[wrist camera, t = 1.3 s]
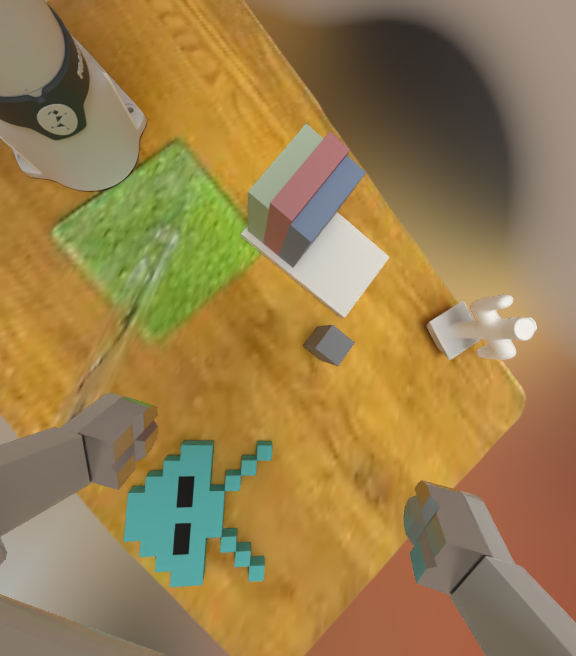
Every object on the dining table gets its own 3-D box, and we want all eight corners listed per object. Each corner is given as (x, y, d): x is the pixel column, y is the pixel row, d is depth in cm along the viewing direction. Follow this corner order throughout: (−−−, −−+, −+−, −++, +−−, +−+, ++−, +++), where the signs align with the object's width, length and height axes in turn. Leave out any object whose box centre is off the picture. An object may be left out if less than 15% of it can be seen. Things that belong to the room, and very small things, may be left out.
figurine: (437, 363, 48) (523, 376, 33) (412, 317, 47) (488, 308, 32) (468, 343, 49) (565, 346, 34) (444, 297, 48) (532, 280, 33)
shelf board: (241, 237, 43) (238, 188, 29) (290, 178, 44) (311, 103, 30) (341, 318, 45) (385, 310, 31) (385, 259, 47) (446, 226, 32)
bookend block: (303, 346, 44) (315, 348, 36) (317, 326, 44) (332, 324, 37) (321, 360, 44) (338, 366, 37) (335, 341, 45) (354, 342, 37)
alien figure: (271, 440, 43) (138, 439, 40) (272, 445, 41) (132, 445, 38) (262, 567, 43) (126, 576, 40) (263, 580, 40) (119, 590, 37)
